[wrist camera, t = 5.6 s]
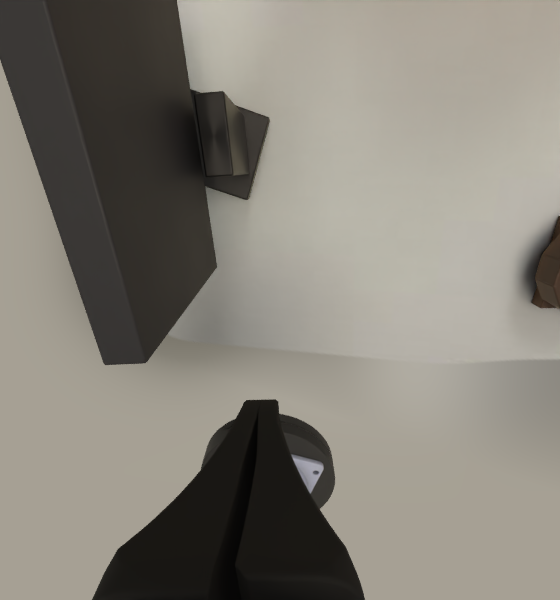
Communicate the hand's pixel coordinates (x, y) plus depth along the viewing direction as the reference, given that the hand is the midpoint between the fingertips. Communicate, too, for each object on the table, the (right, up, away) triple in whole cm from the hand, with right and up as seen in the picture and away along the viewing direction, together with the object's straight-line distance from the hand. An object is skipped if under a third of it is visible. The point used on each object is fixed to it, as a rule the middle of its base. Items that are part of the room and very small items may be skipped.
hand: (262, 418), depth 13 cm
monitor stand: (-4, +14, +5) cm, 15 cm away
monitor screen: (-4, +12, +1) cm, 13 cm away
